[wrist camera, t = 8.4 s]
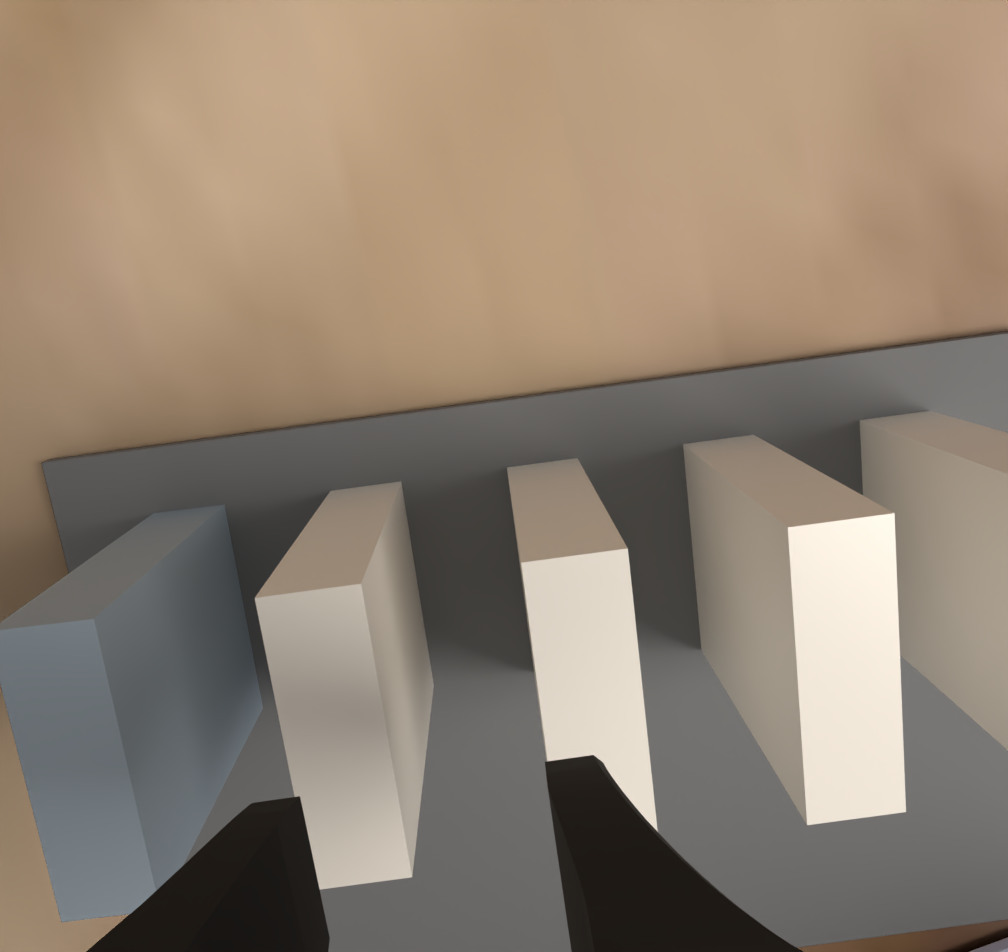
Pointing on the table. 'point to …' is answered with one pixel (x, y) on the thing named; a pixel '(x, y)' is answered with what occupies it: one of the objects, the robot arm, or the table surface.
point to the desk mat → (660, 633)
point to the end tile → (131, 706)
